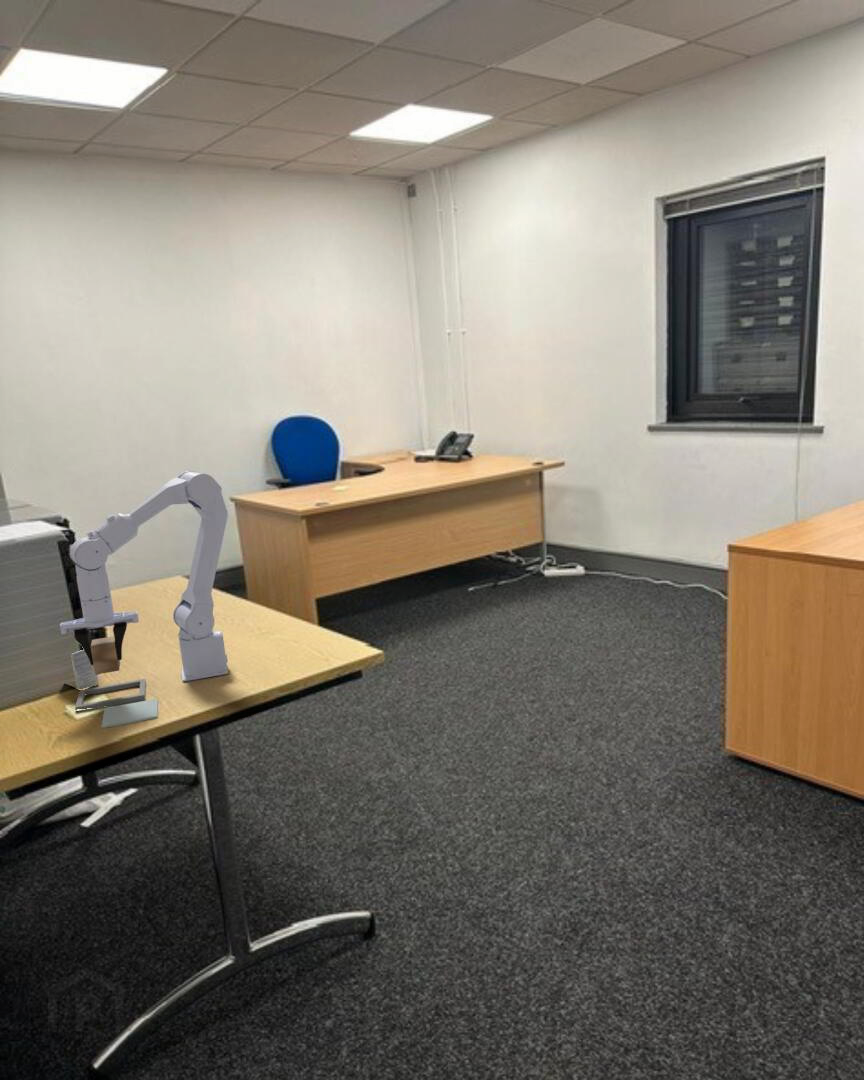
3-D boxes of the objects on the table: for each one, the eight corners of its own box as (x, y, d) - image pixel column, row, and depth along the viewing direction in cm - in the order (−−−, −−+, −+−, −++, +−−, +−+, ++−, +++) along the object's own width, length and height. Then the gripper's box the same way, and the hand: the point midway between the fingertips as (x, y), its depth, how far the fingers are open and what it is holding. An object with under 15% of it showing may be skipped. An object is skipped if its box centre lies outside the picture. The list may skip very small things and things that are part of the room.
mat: (157, 700, 158) (157, 698, 158) (157, 717, 150) (157, 715, 149) (105, 710, 155) (104, 708, 155) (101, 728, 147) (101, 726, 146)
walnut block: (120, 663, 163) (115, 636, 161) (119, 670, 159) (114, 642, 157) (97, 667, 161) (92, 639, 160) (95, 674, 157) (90, 646, 156)
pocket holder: (146, 683, 168) (145, 678, 167) (145, 699, 159) (144, 694, 159) (80, 694, 164) (79, 690, 163) (76, 712, 155) (75, 707, 155)
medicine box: (99, 685, 168) (92, 647, 166) (78, 692, 165) (72, 653, 163) (83, 677, 174) (76, 640, 172) (62, 684, 170) (56, 647, 169)
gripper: (53, 608, 151) (65, 674, 154) (133, 596, 155) (143, 660, 158) (58, 599, 157) (69, 662, 160) (134, 588, 162) (144, 649, 165)
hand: (106, 660), depth 160 cm, fingers closed on walnut block, 4 cm apart
